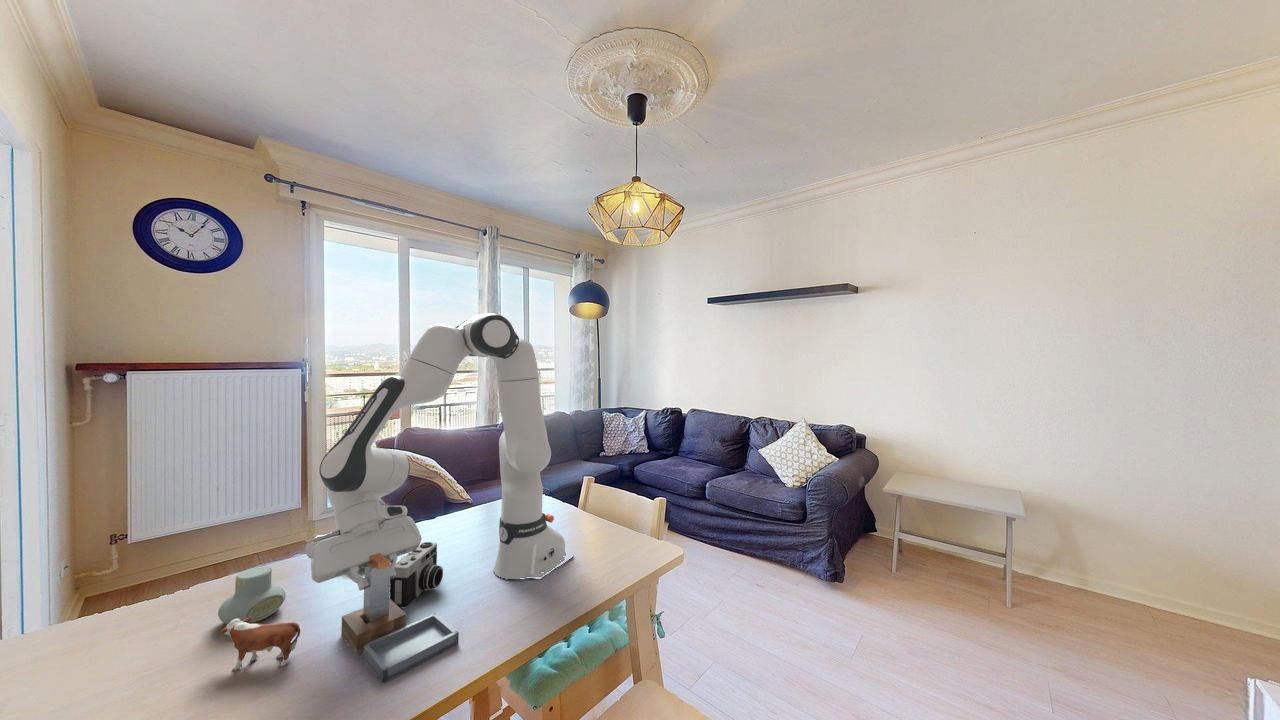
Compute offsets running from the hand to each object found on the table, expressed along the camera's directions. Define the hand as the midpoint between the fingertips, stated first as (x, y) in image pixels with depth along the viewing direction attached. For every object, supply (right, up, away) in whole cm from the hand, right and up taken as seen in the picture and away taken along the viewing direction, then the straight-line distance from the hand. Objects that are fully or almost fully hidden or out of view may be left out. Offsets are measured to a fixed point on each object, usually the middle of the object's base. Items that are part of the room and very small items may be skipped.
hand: (378, 583), depth 88 cm
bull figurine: (-17, -11, -9) cm, 22 cm away
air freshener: (-31, -10, +5) cm, 33 cm away
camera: (0, -11, +16) cm, 20 cm away
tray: (+9, -11, -4) cm, 15 cm away
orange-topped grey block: (-1, -8, 0) cm, 8 cm away
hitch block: (-1, -11, 0) cm, 11 cm away
